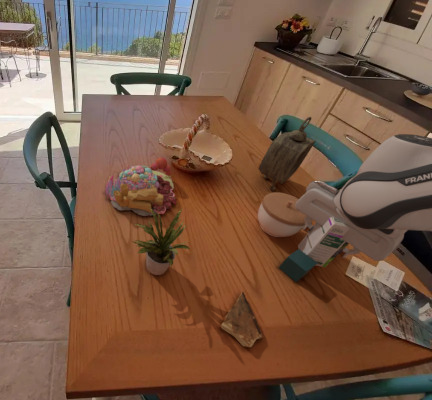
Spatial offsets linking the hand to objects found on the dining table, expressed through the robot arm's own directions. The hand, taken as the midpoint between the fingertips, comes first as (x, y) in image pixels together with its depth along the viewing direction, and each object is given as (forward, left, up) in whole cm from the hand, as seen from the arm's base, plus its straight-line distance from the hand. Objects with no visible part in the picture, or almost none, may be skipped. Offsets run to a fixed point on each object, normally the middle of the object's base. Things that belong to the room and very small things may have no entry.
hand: (323, 242), depth 68 cm
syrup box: (0, 0, -6) cm, 6 cm away
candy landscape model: (+45, +24, -8) cm, 52 cm away
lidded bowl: (+12, -2, -8) cm, 15 cm away
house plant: (+20, +37, -8) cm, 43 cm away
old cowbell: (+27, -23, -8) cm, 36 cm away
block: (0, +7, -8) cm, 10 cm away
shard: (-1, +31, -8) cm, 32 cm away
